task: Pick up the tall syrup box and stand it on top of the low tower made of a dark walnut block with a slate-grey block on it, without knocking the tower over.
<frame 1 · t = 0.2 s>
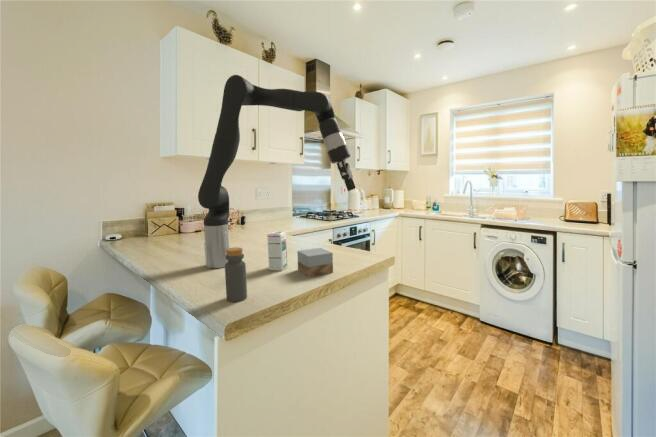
hand: (352, 189, 110), 31 cm above the table, tool tilted 20°, fingers open, 8 cm apart
tower top block: (314, 262, 114), point 4 cm above the table, touching tower base block
syrup box: (278, 268, 119), on the table
bottle: (237, 298, 89), on the table
tower base block: (315, 272, 115), on the table, touching tower top block
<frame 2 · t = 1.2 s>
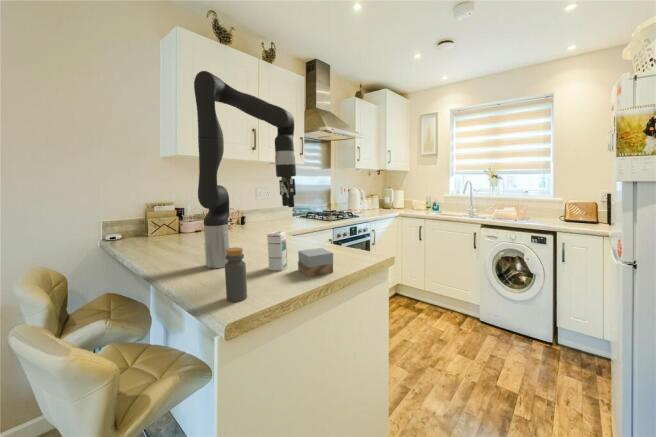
hand: (288, 206, 115), 25 cm above the table, tool pointing down, fingers open, 8 cm apart
nothing on the table moved.
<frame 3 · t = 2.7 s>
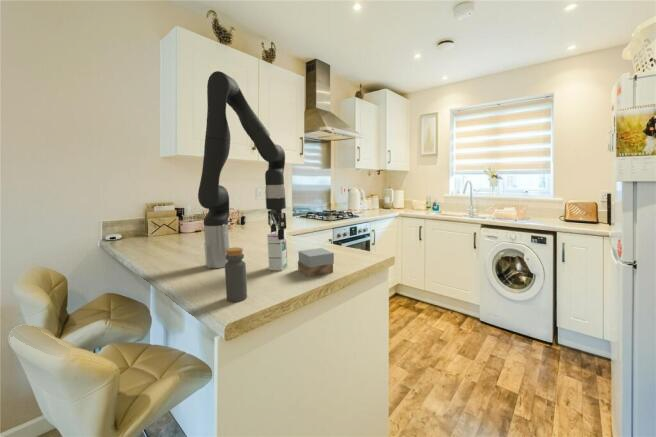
hand: (277, 237, 117), 12 cm above the table, tool pointing down, fingers open, 8 cm apart
syrup box: (278, 268, 119), on the table, touching gripper
everything else where it was.
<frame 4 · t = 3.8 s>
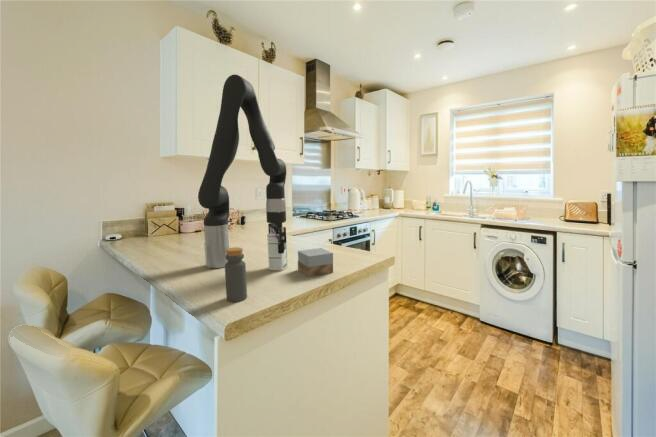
hand: (277, 251, 118), 7 cm above the table, tool pointing down, fingers closed on syrup box, 8 cm apart
syrup box: (278, 268, 119), on the table, touching gripper
everything else where it was.
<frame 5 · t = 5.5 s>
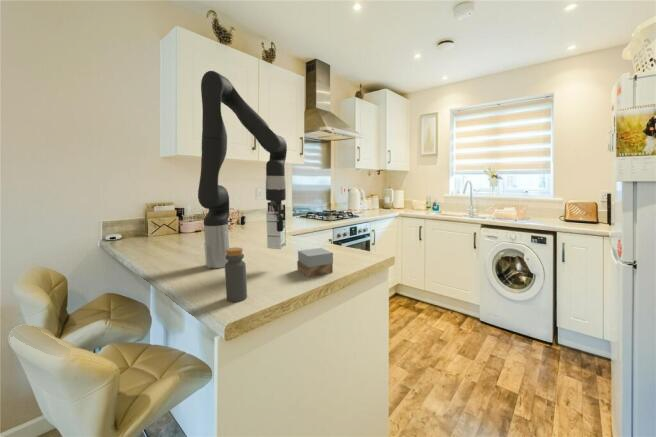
hand: (276, 229, 117), 16 cm above the table, tool pointing down, fingers closed on syrup box, 8 cm apart
syrup box: (276, 247, 118), point 8 cm above the table, touching gripper
everything else where it was.
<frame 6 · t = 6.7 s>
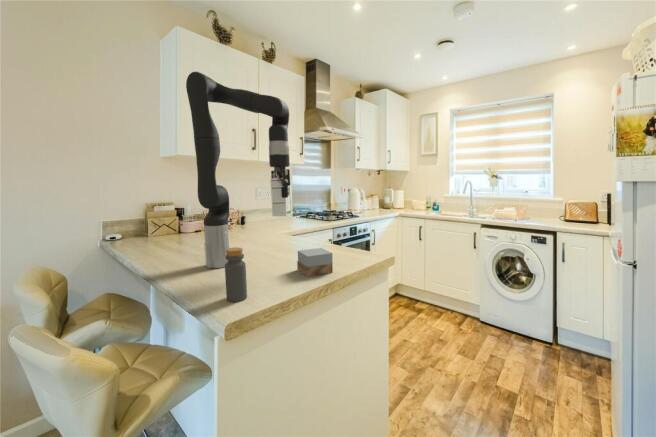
hand: (281, 197, 115), 28 cm above the table, tool pointing down, fingers closed on syrup box, 8 cm apart
syrup box: (281, 215, 116), point 21 cm above the table, touching gripper
everything else where it was.
when the fingers open (16 cm above the table, at t = 10.2 s): syrup box drops 1 cm, resting on tower top block.
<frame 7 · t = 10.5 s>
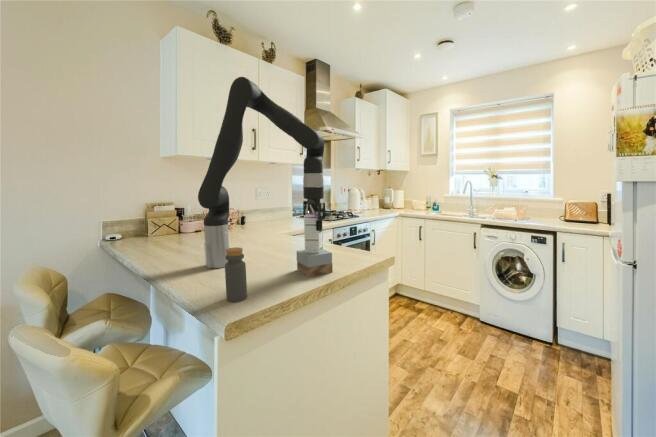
hand: (314, 229, 113), 16 cm above the table, tool pointing down, fingers open, 8 cm apart
tower top block: (314, 262, 114), point 4 cm above the table, touching syrup box, tower base block
syrup box: (313, 252, 114), point 7 cm above the table, touching tower top block
everything else where it was.
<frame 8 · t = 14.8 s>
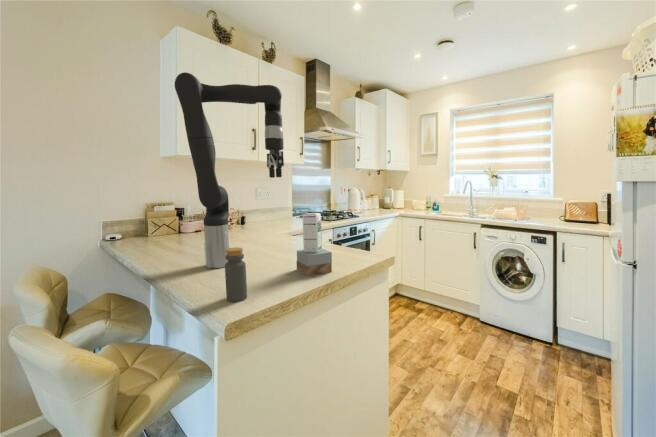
hand: (275, 177, 126), 36 cm above the table, tool pointing down, fingers open, 8 cm apart
tower top block: (314, 261, 115), point 4 cm above the table, touching tower base block
syrup box: (312, 251, 115), point 7 cm above the table
everything else where it was.
at the end: syrup box 0.5 cm off-centre on the tower top block, point 4.0 cm above the tower top block's base; syrup box tilted 3°; tower top block 0.2 cm off-centre on the tower base block, point 4.0 cm above the tower base block's base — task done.
